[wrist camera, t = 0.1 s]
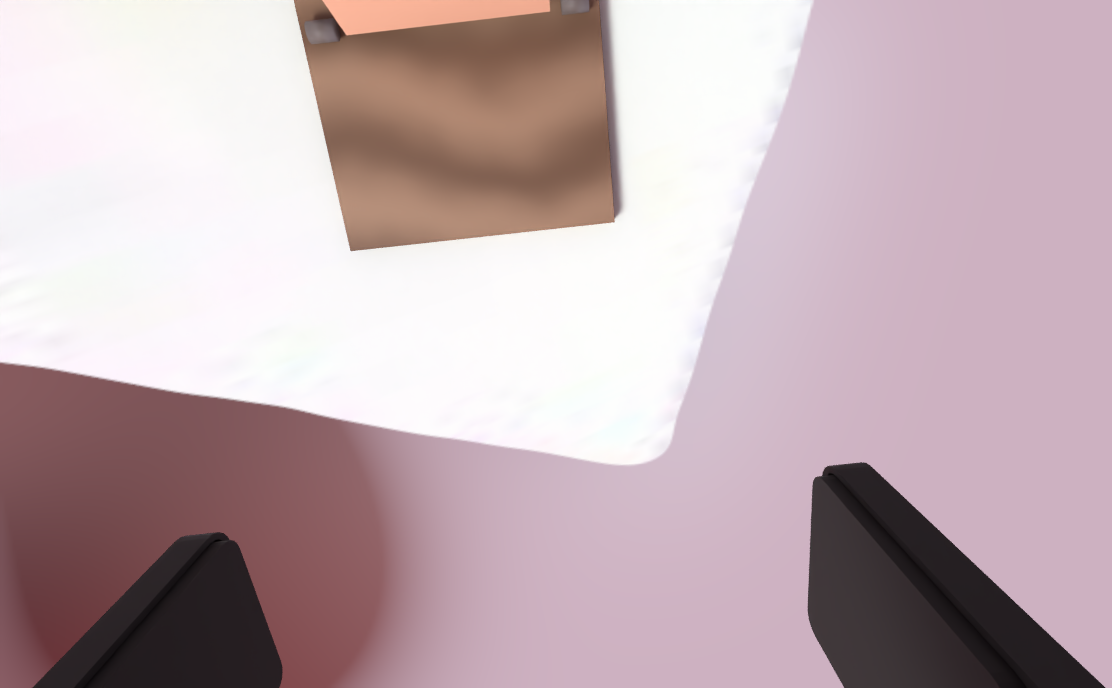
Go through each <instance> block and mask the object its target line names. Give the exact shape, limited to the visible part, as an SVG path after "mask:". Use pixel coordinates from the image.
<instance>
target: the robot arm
mask: <svg viewBox="0 0 1112 688" xmlns="http://www.w3.org/2000/svg"><path fill="white" fill-rule="evenodd" d="M808 616H809V621H810V624H811V627H812V630H813V632H814V634H815V637H816V638H817V640H818V642H819V644H820V645H821V647H822V649H823V651H824V652H825V654H826V656H827V658H828V659H829V661H830V663H831V665H832V667H833V668H834V670H835V672H836V674H837V675H838V677H839V679H840V681H841V682H842V684H843V686H844V688H1105V687H1104V686H1103V685H1102V684H1101V683H1100V682H1099V681H1098V680H1097V679H1096V678H1095V677H1094V676H1092V675H1091V674H1090V673H1089V672H1088V671H1087V670H1086V669H1085V668H1084V667H1083V666H1082V665H1081V664H1080V663H1079V662H1077V660H1076V659H1075V658H1073V657H1072V656H1071V655H1070V654H1069V653H1068V652H1067V651H1066V650H1065V649H1064V648H1063V647H1062V646H1061V645H1060V644H1059V643H1057V642H1056V641H1055V640H1054V639H1053V638H1052V637H1051V636H1050V635H1049V634H1048V633H1047V632H1046V631H1045V630H1044V629H1043V628H1042V627H1040V626H1039V625H1038V624H1037V623H1036V622H1035V621H1034V620H1033V619H1032V618H1031V617H1030V616H1029V615H1028V614H1027V613H1026V612H1025V611H1024V610H1023V609H1021V608H1020V607H1019V606H1018V605H1017V604H1016V603H1015V602H1014V601H1013V600H1012V599H1011V598H1010V597H1009V596H1008V595H1007V594H1006V593H1005V592H1004V591H1002V590H1001V589H1000V588H999V587H998V586H997V585H996V584H995V583H994V582H993V581H992V580H991V579H990V578H988V576H986V574H984V573H983V572H982V571H981V570H980V569H979V568H978V567H977V566H976V565H975V564H974V563H973V562H972V561H971V560H970V559H969V558H968V557H966V556H965V555H964V554H963V553H962V552H961V551H960V550H959V549H958V548H957V547H956V546H955V545H954V544H953V543H952V542H951V541H950V540H948V539H947V538H946V537H945V536H944V535H943V534H942V533H941V532H940V531H939V530H938V529H937V528H936V527H935V526H934V525H933V524H932V523H930V522H929V521H928V520H927V519H926V518H925V517H924V516H923V515H922V514H921V513H920V512H919V511H918V510H917V509H916V508H915V507H913V506H912V505H911V504H910V503H909V502H908V501H907V500H906V499H905V498H904V497H903V496H902V495H901V494H900V493H899V492H898V491H897V490H896V489H894V488H893V487H892V486H891V485H890V484H889V483H888V482H887V481H886V480H885V479H884V478H883V477H882V476H881V475H880V474H878V472H876V471H875V470H874V469H873V468H872V467H871V466H870V465H868V464H867V463H862V462H861V463H852V464H843V465H833V466H827V467H826V468H825V469H824V471H823V475H822V476H819V477H816V478H815V479H814V481H813V490H812V514H811V539H810V564H809V588H808ZM281 680H282V664H281V660H280V658H279V655H278V652H277V649H276V646H275V644H274V641H273V638H272V635H271V633H270V630H269V628H268V625H267V622H266V619H265V616H264V614H263V611H262V608H261V605H260V603H259V600H258V597H257V595H256V592H255V589H254V586H253V583H252V581H251V578H250V575H249V573H248V570H247V567H246V564H245V561H244V559H243V556H242V553H241V551H240V548H239V546H238V544H237V543H236V542H235V541H232V540H229V538H228V537H227V536H226V535H225V534H224V533H220V532H217V533H207V534H199V535H189V536H184V537H181V538H179V539H178V540H177V541H176V542H174V544H172V545H171V546H170V547H169V548H168V549H167V550H166V552H165V553H164V554H163V555H162V556H161V557H160V558H159V559H158V560H157V561H156V562H155V563H154V564H153V565H152V566H151V567H150V568H149V569H148V570H147V571H146V572H145V573H144V574H143V575H142V576H141V577H140V578H139V579H138V580H137V581H136V582H135V583H134V584H133V585H132V586H131V587H130V588H129V589H128V591H126V593H125V594H124V595H123V596H122V597H121V598H120V599H119V600H118V601H117V602H116V603H115V604H114V605H113V606H112V607H111V608H110V609H109V610H108V611H107V612H106V613H105V614H104V615H103V616H102V617H101V618H100V619H99V620H98V621H97V622H96V623H95V624H94V625H93V626H92V627H91V628H90V630H88V632H86V633H85V635H84V636H83V637H82V638H81V639H80V640H79V641H78V642H77V643H76V644H75V645H74V646H73V647H72V648H71V649H70V650H69V651H68V652H67V653H66V654H65V655H64V656H63V657H62V658H61V659H60V660H59V661H58V662H57V663H56V664H55V665H54V667H52V668H51V669H50V670H49V671H48V672H47V673H46V674H45V676H44V677H43V678H42V679H41V680H40V681H39V682H38V683H37V684H36V685H35V686H34V687H33V688H279V687H280V684H281Z"/></svg>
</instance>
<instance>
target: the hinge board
mask: <svg viewBox="0 0 1112 688" xmlns="http://www.w3.org/2000/svg"><path fill="white" fill-rule="evenodd" d="M549 1H550V12H542V13H533V14H525V15H516V16H508V17H499V18H491V19H482V20H473V21H465V22H456V23H448V24H439V25H431V26H422V27H414V28H405V29H397V30H388V31H380V32H371V33H363V34H354V35H346V34H345V32H344V31H343V29H342V28H341V27H340V25H339V24H338V22H337V21H336V19H335V18H334V16H333V15H332V14H331V12H330V11H329V9H328V8H327V6H326V5H325V3H324V2H323V1H322V0H294V3H295V8H296V12H297V16H298V21H299V25H300V30H301V34H302V38H303V43H304V47H305V52H306V56H307V61H308V65H309V69H310V74H311V78H312V83H313V87H314V91H315V96H316V100H317V105H318V109H319V113H320V118H321V122H322V127H323V131H324V136H325V140H326V144H327V149H328V153H329V158H330V162H331V166H332V171H333V175H334V180H335V184H336V189H337V193H338V197H339V202H340V206H341V211H342V215H343V219H344V224H345V228H346V233H347V237H348V241H349V246H350V250H351V251H356V250H365V249H374V248H383V247H392V246H401V245H411V244H420V243H429V242H438V241H447V240H456V239H465V238H474V237H483V236H493V235H502V234H511V233H520V232H529V231H538V230H547V229H556V228H565V227H575V226H584V225H593V224H602V223H611V222H615V221H614V207H613V192H612V178H611V164H610V150H609V136H608V121H607V107H606V93H605V79H604V65H603V50H602V36H601V22H600V8H599V0H549Z"/></svg>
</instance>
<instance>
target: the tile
mask: <svg viewBox="0 0 1112 688" xmlns="http://www.w3.org/2000/svg"><path fill="white" fill-rule="evenodd" d="M322 1H323V2H324V3H325V5H326V6H327V8H328V9H329V11H330V12H331V14H332V15H333V16H334V18H335V19H336V21H337V22H338V24H339V25H340V27H341V28H342V29H343V31H344V32H345V34H346V35H354V34H363V33H371V32H380V31H388V30H397V29H405V28H414V27H422V26H431V25H439V24H448V23H456V22H465V21H473V20H482V19H491V18H499V17H508V16H516V15H525V14H533V13H542V12H550V1H549V0H322Z"/></svg>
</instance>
